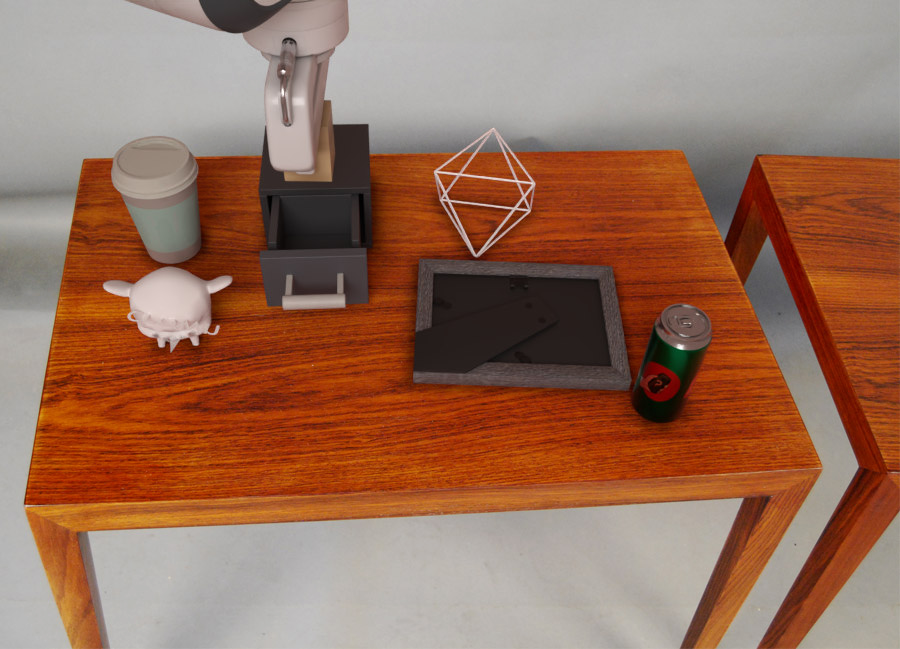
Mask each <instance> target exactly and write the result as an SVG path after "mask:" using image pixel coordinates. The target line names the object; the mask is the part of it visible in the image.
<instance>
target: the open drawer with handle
mask: <svg viewBox="0 0 900 649" xmlns="http://www.w3.org/2000/svg"><path fill="white" fill-rule="evenodd" d="M268 244H269V250H268V249H266V250H259V259H258V260H259V265H260V271H261V272H260V273H261V277H262V283H263V288H264V295H265V301H266V307H268V308H270V307H271V308H272V307H282V311H292V310H293V311H294V310H295V311H296V310H297V311H298V310H326V309H327V310H328V309H329V310H331V309H346V308H347V305H360V304H361V305H363V304H365V305H367V304H369V303H370V296H369V272H368V271H369V270H368V269H369V268H368V249H367V248H361V231H360V210H359V194H316V195H273V196H272V207H271V218H270V230H269V241H268Z"/></svg>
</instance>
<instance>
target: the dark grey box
mask: <svg viewBox="0 0 900 649" xmlns="http://www.w3.org/2000/svg"><path fill="white" fill-rule="evenodd" d="M333 132H334V145H335V159H334V169H333V178H332V182H324V181H285V177H284V172H282V171H277V170H275V169H274V168H273V166H272V165H271V162H270V157H269V148H268V139H267V130H266V124H265V125H264V135H263V142H262V143H263V144H262V152H261V162H260V171H259V181H258V196H259V203H260V210H261V216H262V221H263V228H264V234H265V242H266V248H267V250H269V244H268V241H269V230H270V218H271V207H272V196H273V195H316V194H359V210H360V231H361V248H367V250H368V249H373V248H374V243H373V242H374V241H373V240H374V239H373V212H372V182H371V178H372V177H371V156H370V152H371V150H370V125H369V123H340V124H339V123H336V124H335V123H333Z"/></svg>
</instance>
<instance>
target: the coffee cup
mask: <svg viewBox="0 0 900 649" xmlns="http://www.w3.org/2000/svg"><path fill="white" fill-rule="evenodd" d="M110 174H111V182H112V185H113V187H114V188H115V189H116V190H117V192H119V193H120V195H121V198H122V200H123V202H124V204H125V207H126V208H127V210H128V213H129V215H130V218H131V219H132V221H133V223H134V225H135V228H136V230H137V232H138V234H139V236H140V240H142V243H143V245H144V247H145V249H146V251H147V254H148V255H149V256H150V258H151V259H152V260H154V261H156V262H158V263H161V264H167V265H168V264H169V265H170V264H171V265H173V264H180V263H183V262H186V261H188V260H190V259H192V258H193V257H194V256H196V255H197V254H198V253H199V252H200V250H201V248H202V244H203V243H202V229H201V218H200V217H201V216H200V203H199V192H198V180H197V177H198V175H199V165H198V162H197V160H196V157H195V156H194V155H193V153H192V152H191V151H190V150H189V148H188V146H187V145H186V144H185V143H184V142H182V141H181V140H179V139H177V138H174V137H171V136H165V135H151V136H145V137H140V138H137V139H134V140H131V141H129V142H127V143H126V144H124V145H123V146H122V147H120V148H119V149H118V150H117V151H116V153H115V154H114V156H113V159H112V167H111V171H110Z"/></svg>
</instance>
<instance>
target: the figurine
mask: <svg viewBox="0 0 900 649" xmlns="http://www.w3.org/2000/svg"><path fill="white" fill-rule="evenodd" d="M233 278H234V277H233V276H231V275H220V276H218V277H216V278H213V279H211V280H205V279H202V278H200V277H199V276H197V275H195V274H192V273H191V272H189V271H188V270H186V269H183V268H180V267H176V266H164V267H160V268H158V269H155V270H153V271H151V272H149V273H147V274H146V275H144V276H143V277H141V278H140V279H138V281H136V282H135V283H132V282H128V281H124V280H119V279H112V280H111V279H110V280H107V281H104V282H103V284H102V288H103V289H104V291H106V292H108V293H110V294H112V295H115V296H119V297H123V298H129V308H130V312H129V313H128V314H127V319H128V320H129V321H131V322H136V324H137V328H138V330H139V332H141V334H143V335H144V336H145V337H148V338H151V339H156V341H157V344H158V347H159V348H165V347H166V343H169V348H170V350H169V351H170V353H172V352H173V350H174V349H175V348H176V346H177V345H178V344H179V342H180V340H185V339H190V341H191V344H192V346H196V347H197V346H199V345H200V337H199V336H200V335H202V334H208V335H210V336H216V335H217V334H218V333H219V330H220V327H221V325H218V324H216V326H215V329H214V332H209V331H208V330H209V328H210V327H211V325H212V298H211V294H215V293H217V292H219V291H221V290H223V289H225V288H227V287H228V286H230V285H231V284H232V282H233ZM132 315H133V317H134V318H132Z"/></svg>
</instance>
